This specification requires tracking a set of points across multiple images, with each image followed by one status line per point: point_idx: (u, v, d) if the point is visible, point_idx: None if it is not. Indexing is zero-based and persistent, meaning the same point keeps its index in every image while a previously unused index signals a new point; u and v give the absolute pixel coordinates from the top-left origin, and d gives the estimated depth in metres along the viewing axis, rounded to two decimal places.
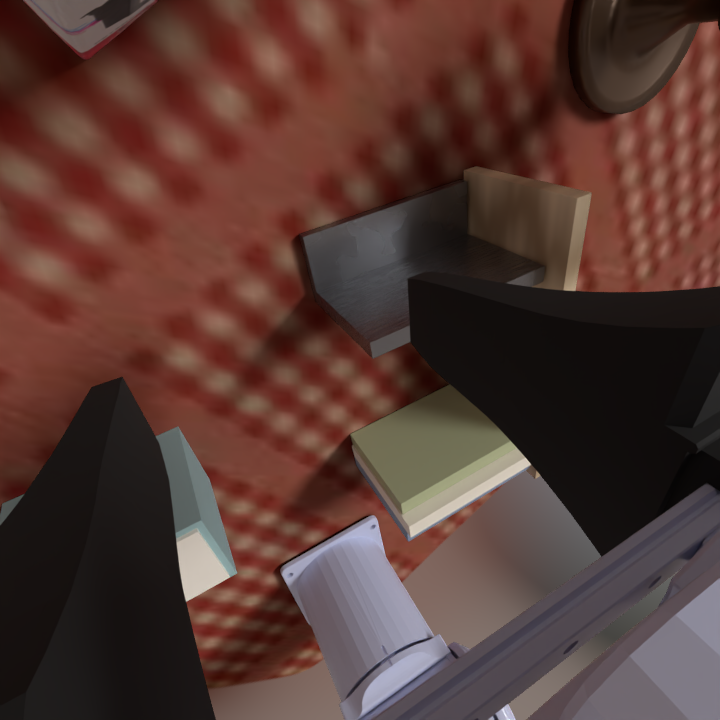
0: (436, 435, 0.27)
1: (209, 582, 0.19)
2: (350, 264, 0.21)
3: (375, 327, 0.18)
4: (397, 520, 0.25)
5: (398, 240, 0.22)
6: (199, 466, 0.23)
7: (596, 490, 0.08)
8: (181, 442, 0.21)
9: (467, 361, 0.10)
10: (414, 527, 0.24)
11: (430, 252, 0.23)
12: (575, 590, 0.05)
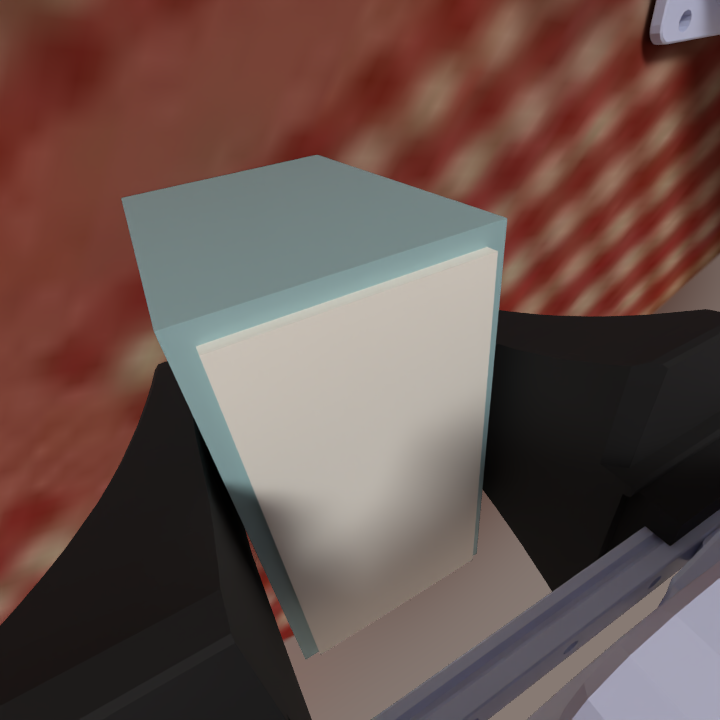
0: None
1: (469, 314, 0.06)
2: None
3: None
4: None
5: None
6: (251, 175, 0.09)
7: (543, 524, 0.08)
8: (127, 213, 0.08)
9: None
10: None
11: None
12: (575, 590, 0.05)
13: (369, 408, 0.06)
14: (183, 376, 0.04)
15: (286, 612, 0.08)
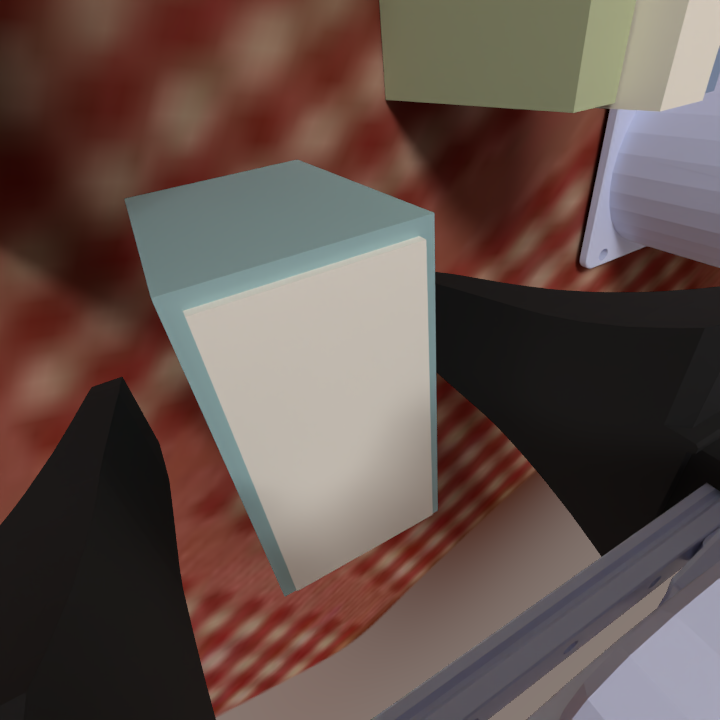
0: None
1: (406, 291, 0.07)
2: None
3: None
4: None
5: None
6: (236, 178, 0.11)
7: (596, 490, 0.08)
8: (129, 211, 0.09)
9: (467, 361, 0.10)
10: (679, 85, 0.07)
11: None
12: (575, 590, 0.05)
13: (325, 367, 0.07)
14: (173, 334, 0.06)
15: (265, 548, 0.09)
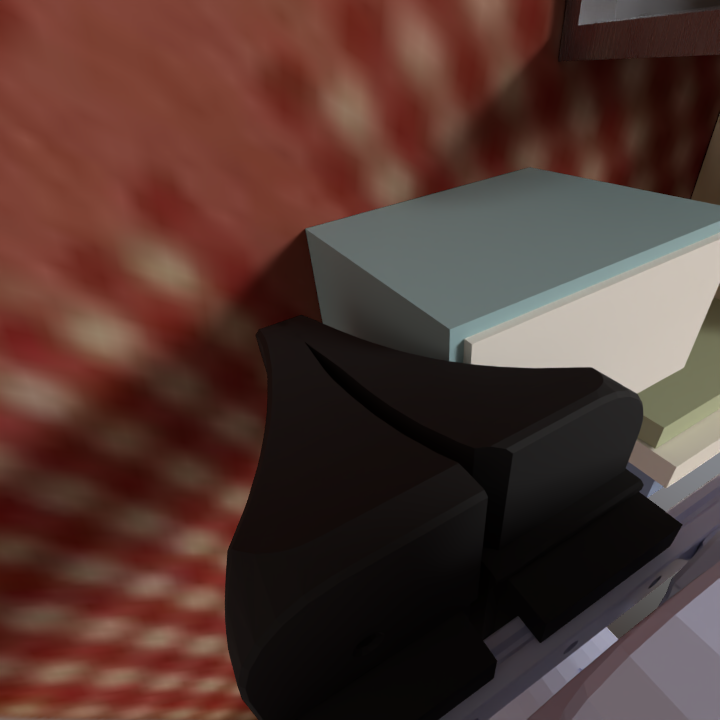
0: None
1: (669, 365, 0.11)
2: None
3: None
4: None
5: None
6: None
7: None
8: (561, 175, 0.13)
9: None
10: (679, 469, 0.14)
11: None
12: None
13: (667, 322, 0.10)
14: None
15: (543, 293, 0.08)
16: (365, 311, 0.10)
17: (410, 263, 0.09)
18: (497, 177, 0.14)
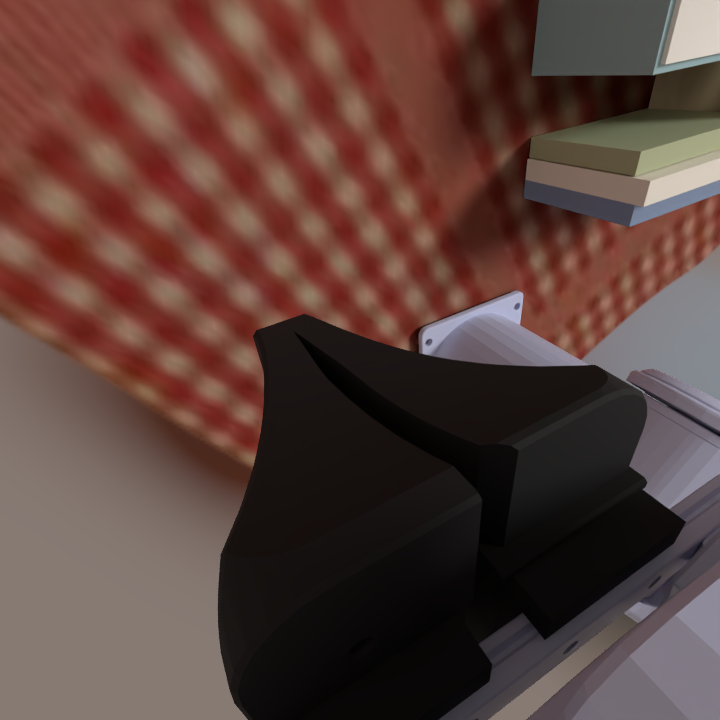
0: (645, 127, 0.22)
1: None
2: None
3: None
4: (612, 205, 0.20)
5: None
6: None
7: None
8: None
9: None
10: (653, 187, 0.19)
11: None
12: None
13: None
14: None
15: None
16: None
17: None
18: None
